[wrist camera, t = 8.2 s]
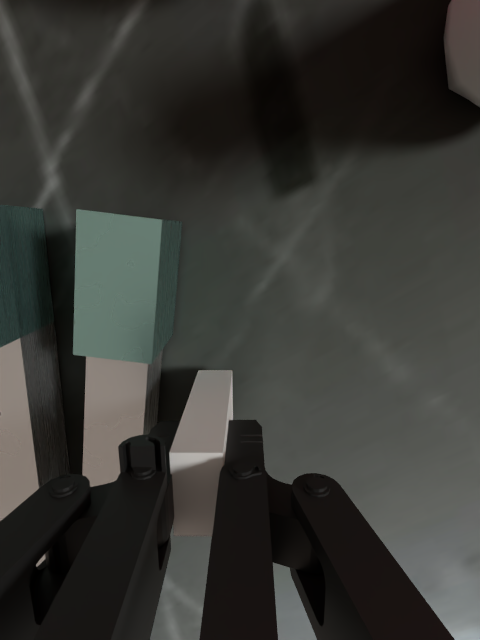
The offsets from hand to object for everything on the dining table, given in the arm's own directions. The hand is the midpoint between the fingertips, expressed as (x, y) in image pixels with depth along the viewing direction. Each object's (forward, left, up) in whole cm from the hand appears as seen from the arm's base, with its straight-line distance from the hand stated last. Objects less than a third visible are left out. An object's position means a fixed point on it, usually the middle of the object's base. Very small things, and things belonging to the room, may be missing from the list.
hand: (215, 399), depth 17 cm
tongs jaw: (-3, +4, -1) cm, 6 cm away
